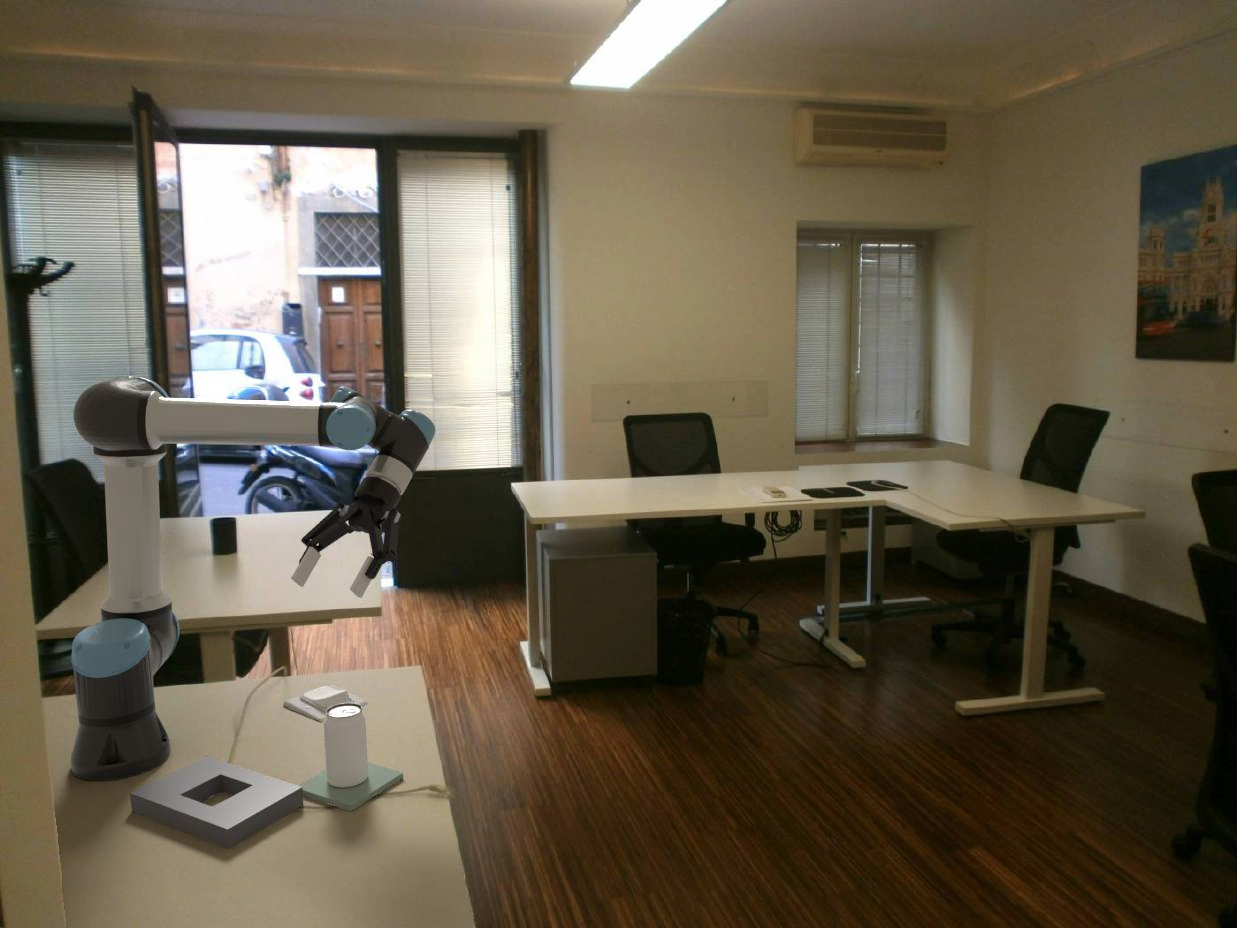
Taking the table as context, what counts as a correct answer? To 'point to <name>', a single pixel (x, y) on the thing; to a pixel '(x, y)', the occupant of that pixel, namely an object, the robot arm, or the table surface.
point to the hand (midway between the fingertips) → (325, 588)
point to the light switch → (321, 701)
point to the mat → (352, 796)
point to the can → (345, 745)
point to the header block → (228, 820)
